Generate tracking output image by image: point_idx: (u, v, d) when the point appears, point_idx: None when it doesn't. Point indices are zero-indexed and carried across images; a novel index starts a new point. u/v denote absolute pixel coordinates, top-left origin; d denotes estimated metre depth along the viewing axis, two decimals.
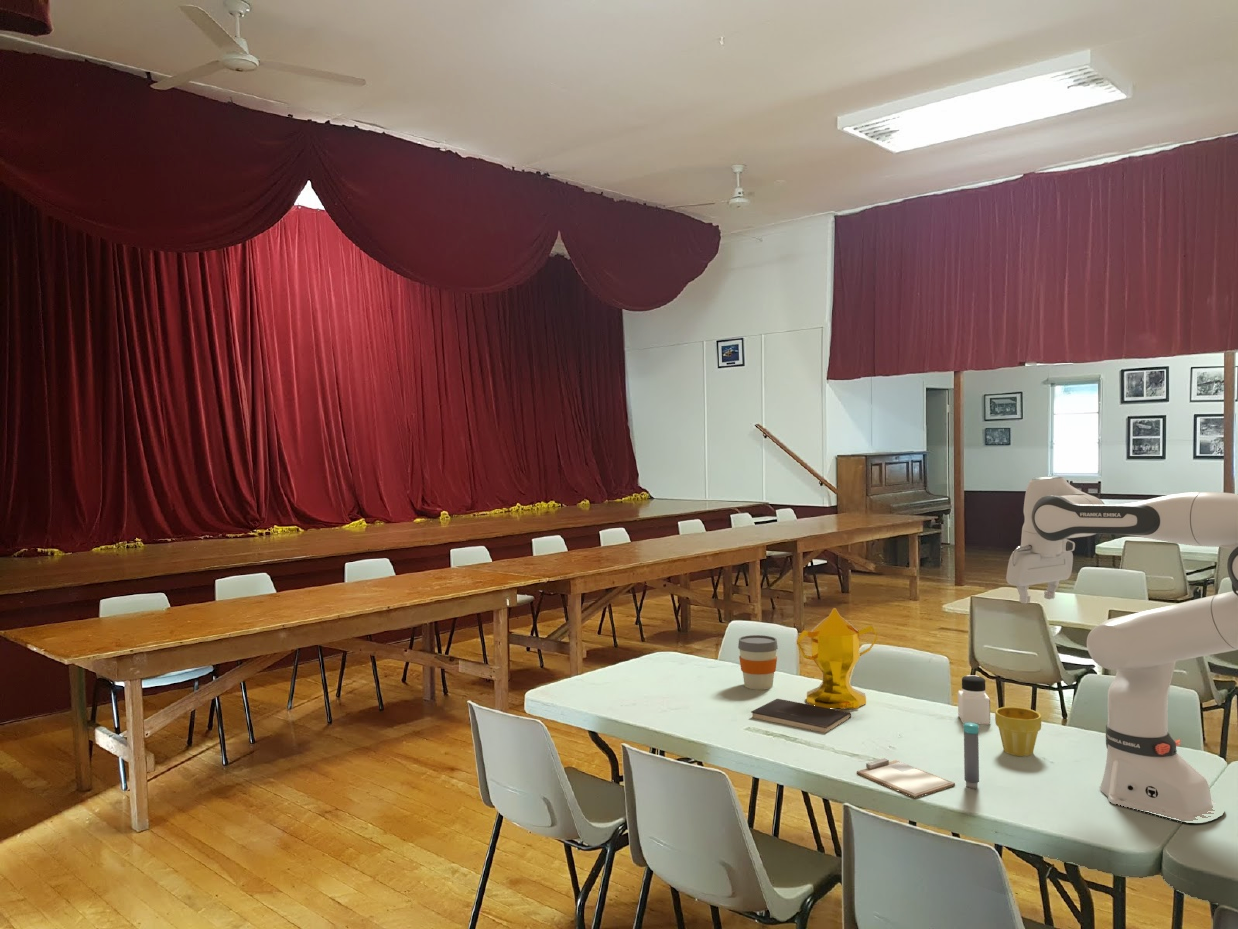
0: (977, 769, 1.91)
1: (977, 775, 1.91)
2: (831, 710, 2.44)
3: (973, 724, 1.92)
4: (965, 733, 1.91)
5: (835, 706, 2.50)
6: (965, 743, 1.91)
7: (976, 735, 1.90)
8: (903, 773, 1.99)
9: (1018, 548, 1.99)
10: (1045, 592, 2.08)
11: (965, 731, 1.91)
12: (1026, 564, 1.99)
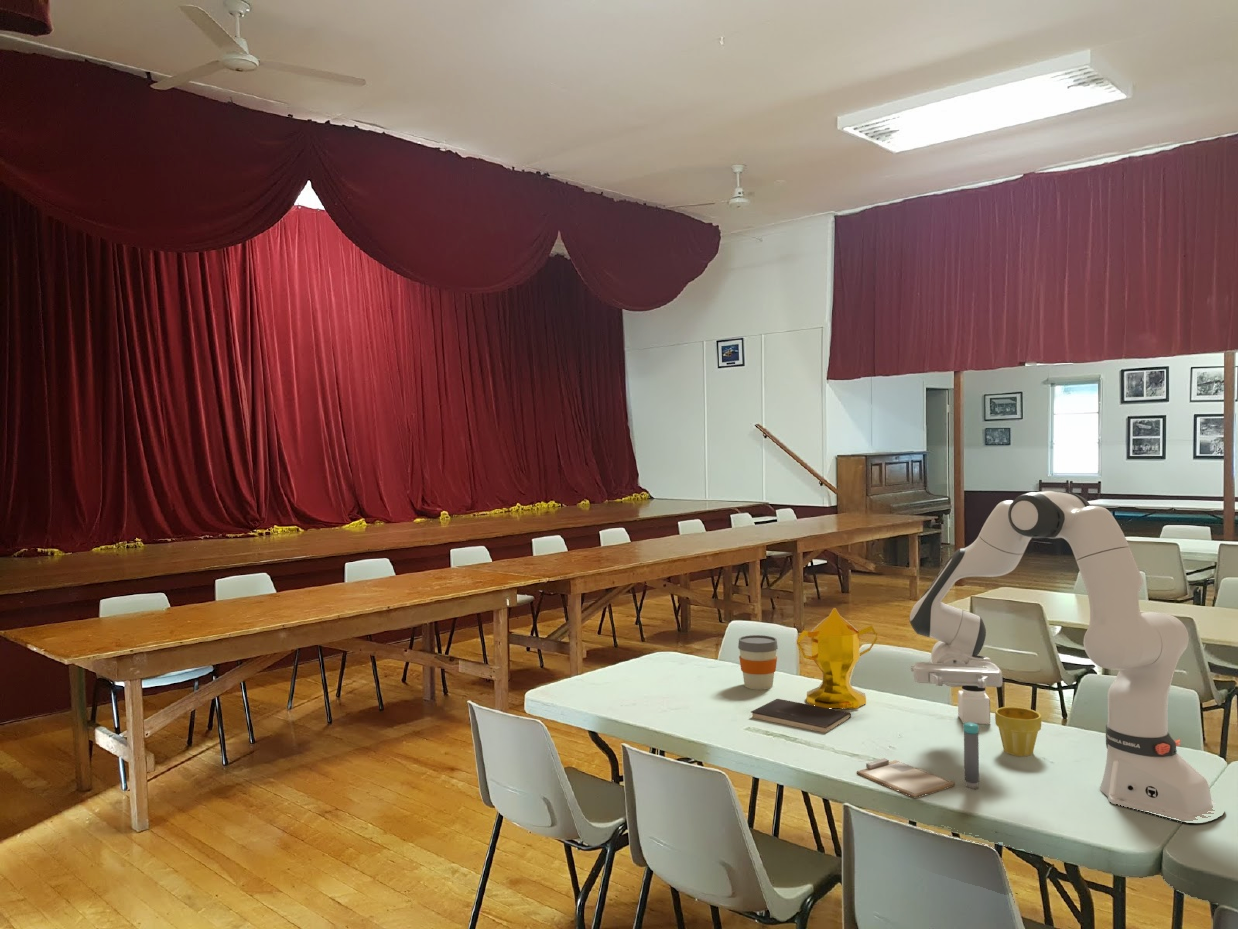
0: (977, 769, 1.91)
1: (977, 775, 1.91)
2: (831, 710, 2.44)
3: (973, 724, 1.92)
4: (965, 733, 1.91)
5: (835, 706, 2.50)
6: (965, 743, 1.91)
7: (976, 735, 1.90)
8: (903, 773, 1.99)
9: None
10: (978, 685, 2.03)
11: (965, 731, 1.91)
12: (921, 663, 2.14)
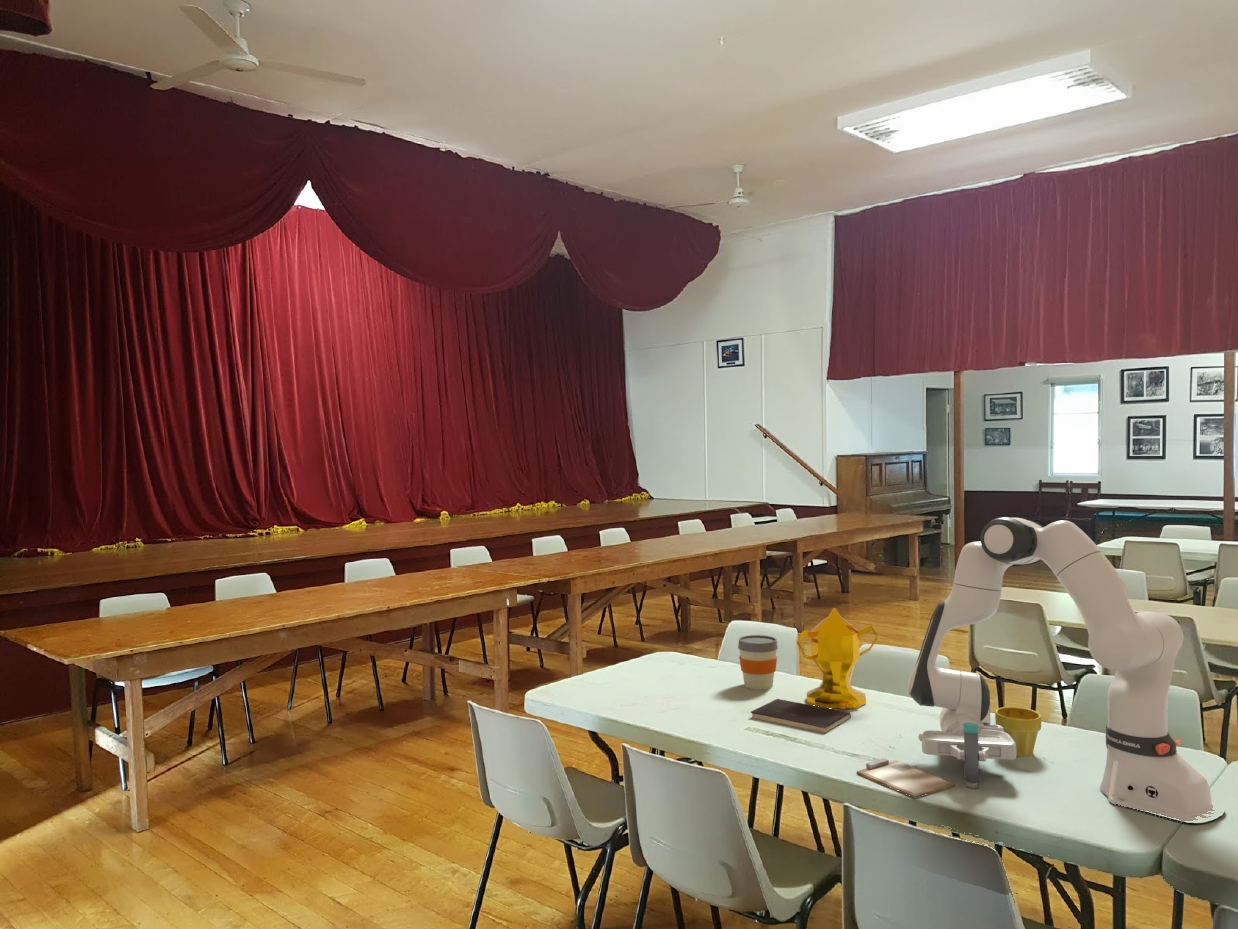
0: (977, 769, 1.91)
1: (977, 775, 1.91)
2: (831, 710, 2.43)
3: (973, 724, 1.92)
4: (965, 733, 1.91)
5: (835, 706, 2.50)
6: (965, 743, 1.91)
7: (976, 735, 1.90)
8: (903, 773, 1.99)
9: None
10: None
11: (965, 731, 1.91)
12: (930, 732, 2.02)
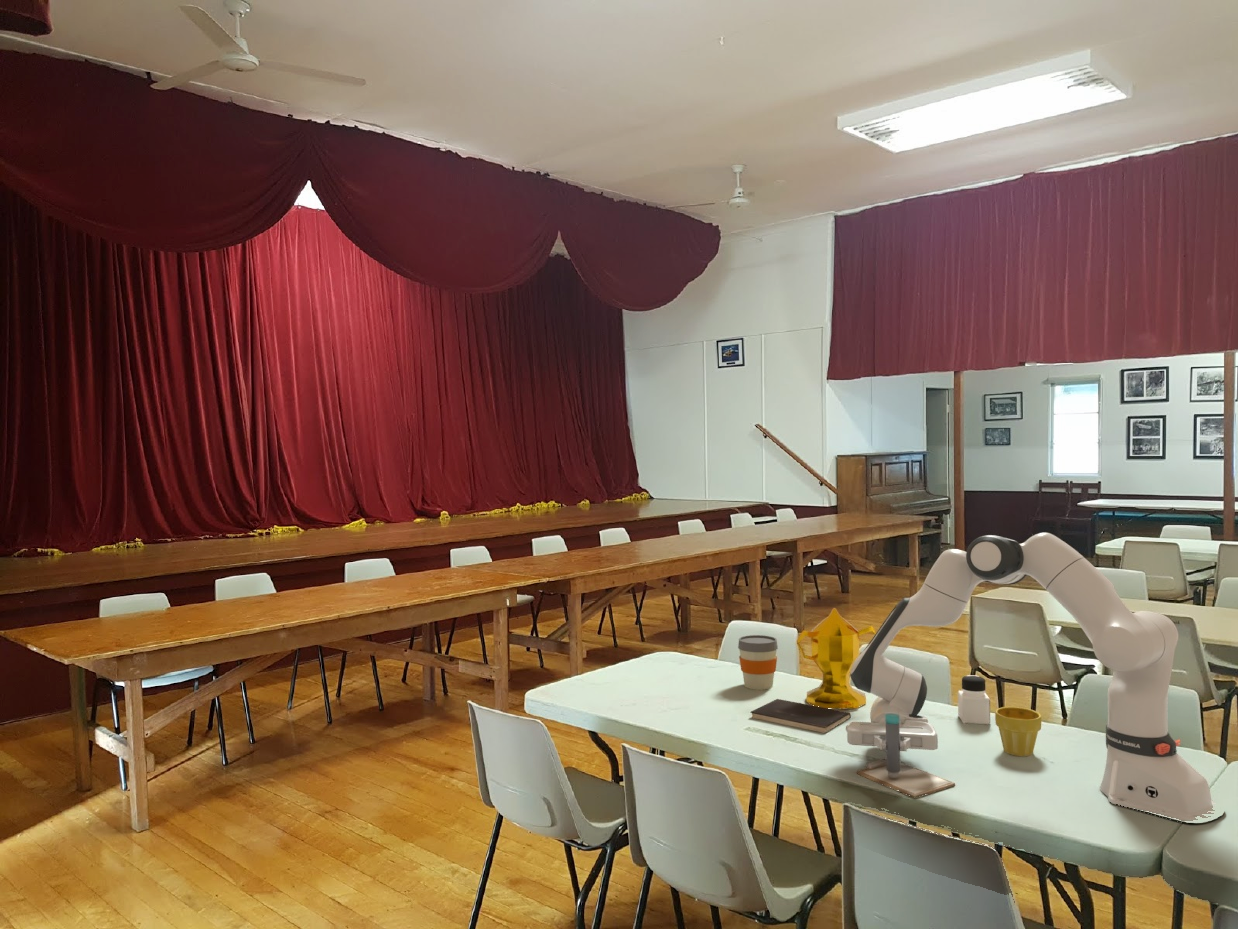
0: (898, 759, 1.95)
1: (898, 765, 1.95)
2: (831, 710, 2.43)
3: (894, 715, 1.96)
4: (886, 723, 1.95)
5: (835, 706, 2.50)
6: (886, 733, 1.95)
7: (897, 725, 1.94)
8: (903, 773, 1.99)
9: None
10: None
11: (886, 722, 1.95)
12: (856, 723, 2.06)
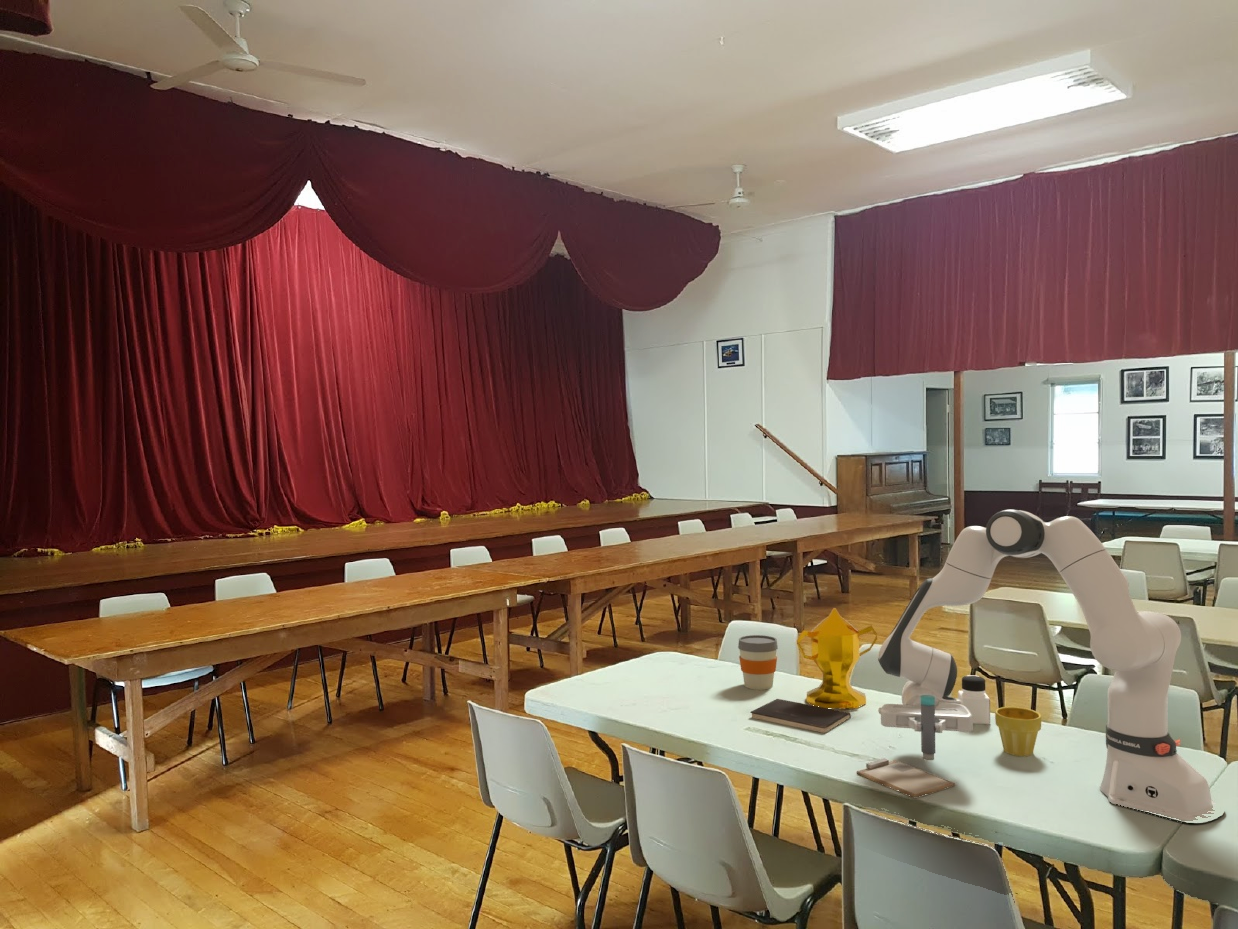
0: (933, 740, 1.93)
1: (933, 746, 1.93)
2: (831, 710, 2.43)
3: (930, 696, 1.94)
4: (922, 705, 1.93)
5: (835, 706, 2.50)
6: (922, 715, 1.94)
7: (932, 707, 1.93)
8: (903, 773, 1.99)
9: None
10: None
11: (922, 703, 1.93)
12: (889, 705, 2.05)
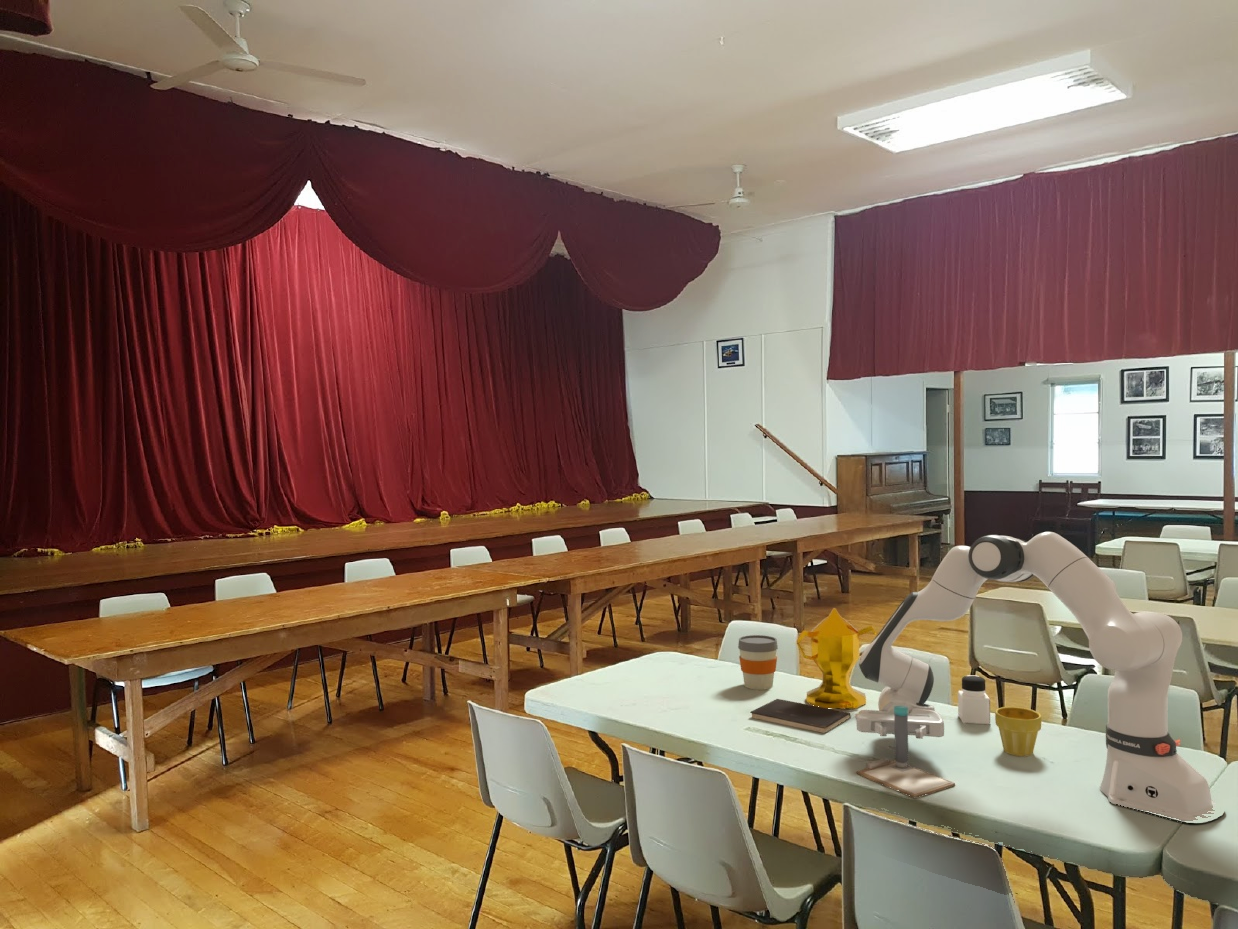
0: (906, 749, 2.02)
1: (906, 755, 2.02)
2: (831, 710, 2.43)
3: (903, 707, 2.03)
4: (895, 715, 2.02)
5: (835, 706, 2.50)
6: (895, 725, 2.03)
7: (905, 717, 2.02)
8: (903, 773, 1.99)
9: None
10: None
11: (895, 713, 2.02)
12: (865, 711, 2.13)
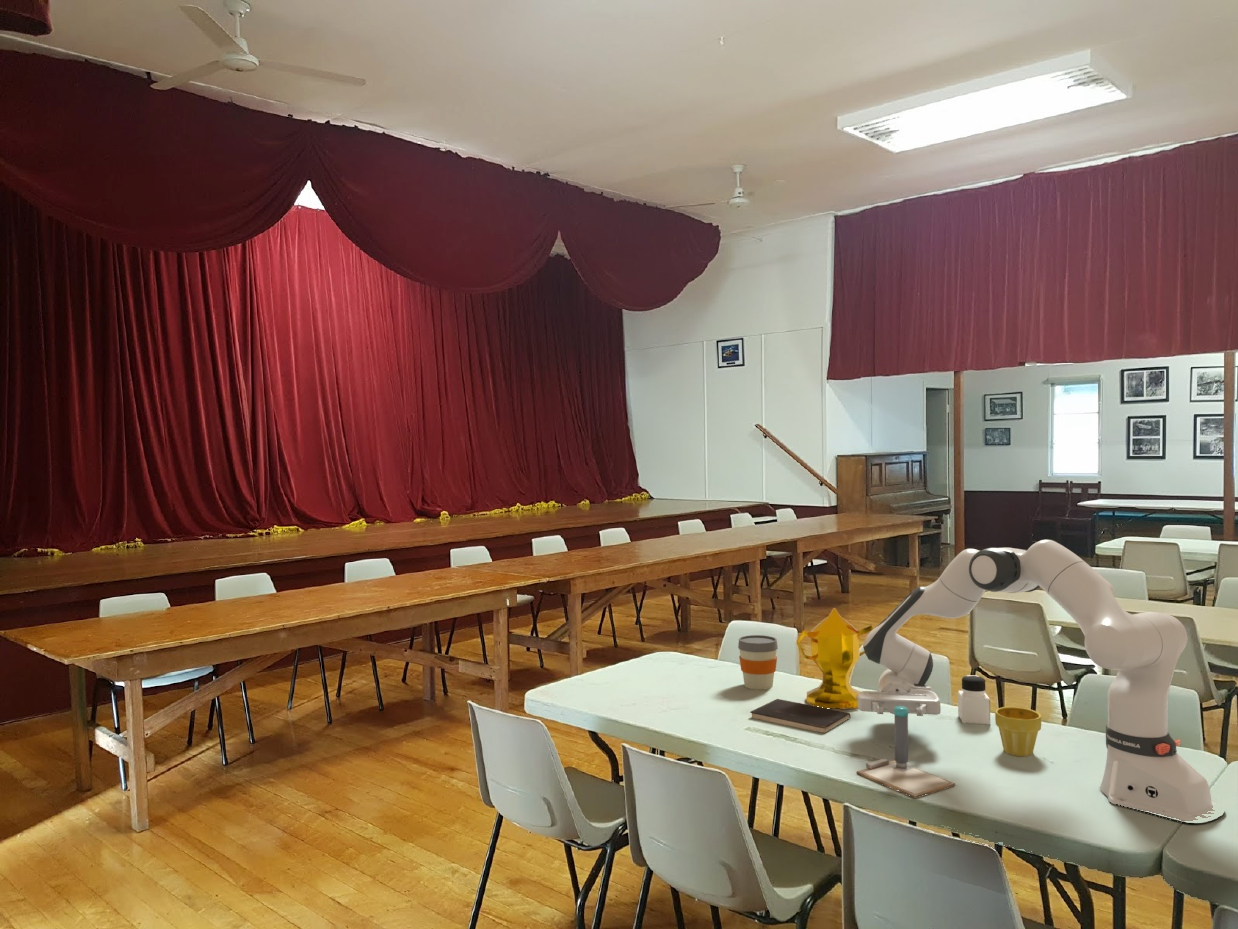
0: (906, 750, 2.02)
1: (906, 755, 2.02)
2: (831, 710, 2.43)
3: (903, 707, 2.03)
4: (895, 716, 2.02)
5: (835, 706, 2.50)
6: (895, 725, 2.02)
7: (905, 718, 2.01)
8: (903, 773, 1.99)
9: None
10: (917, 713, 2.14)
11: (895, 714, 2.02)
12: (866, 692, 2.26)
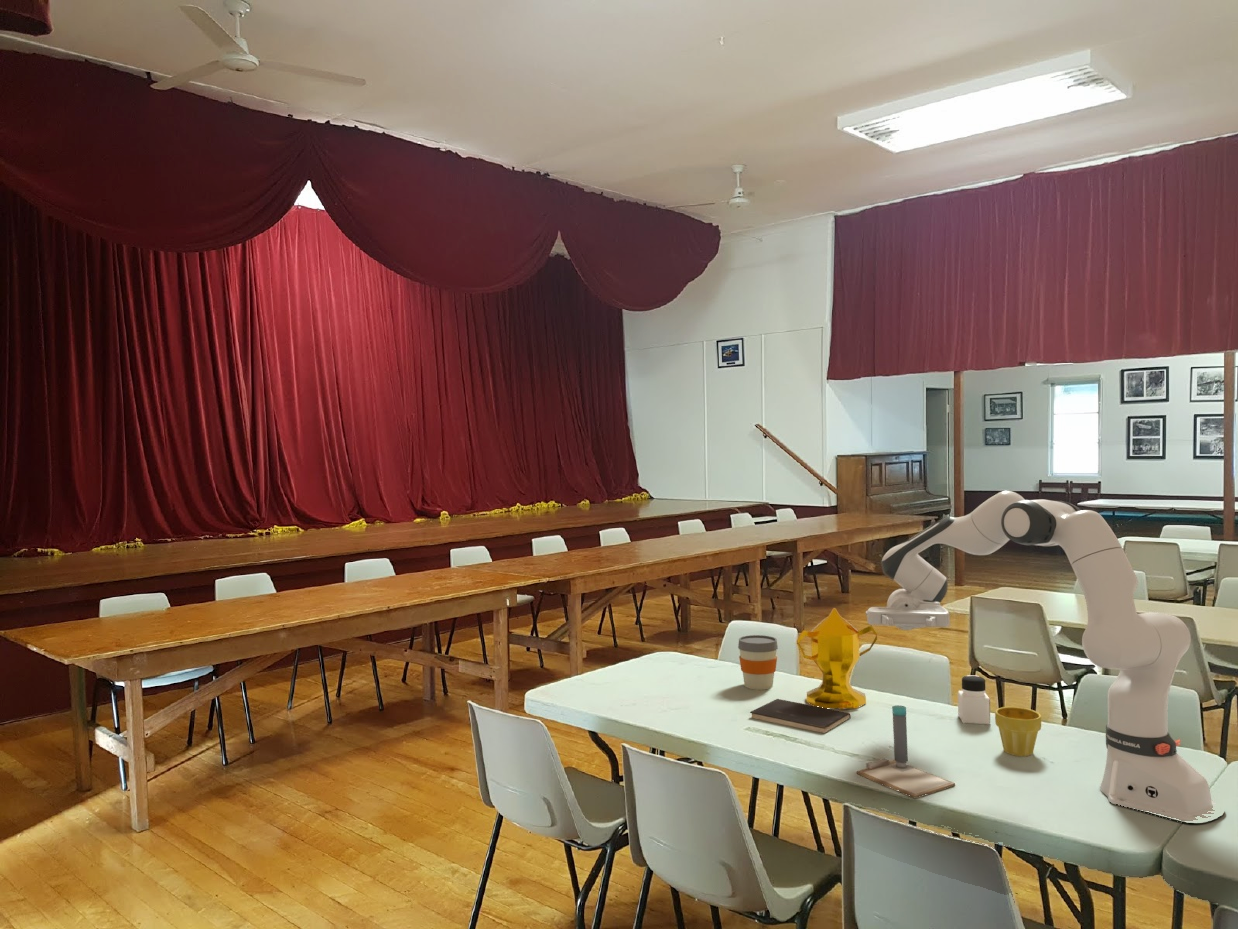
0: (906, 749, 2.02)
1: (906, 755, 2.02)
2: (830, 710, 2.43)
3: (901, 706, 2.03)
4: (894, 715, 2.03)
5: (835, 706, 2.50)
6: (894, 725, 2.03)
7: (904, 716, 2.02)
8: (903, 773, 1.99)
9: None
10: None
11: (893, 713, 2.03)
12: (875, 607, 2.27)
